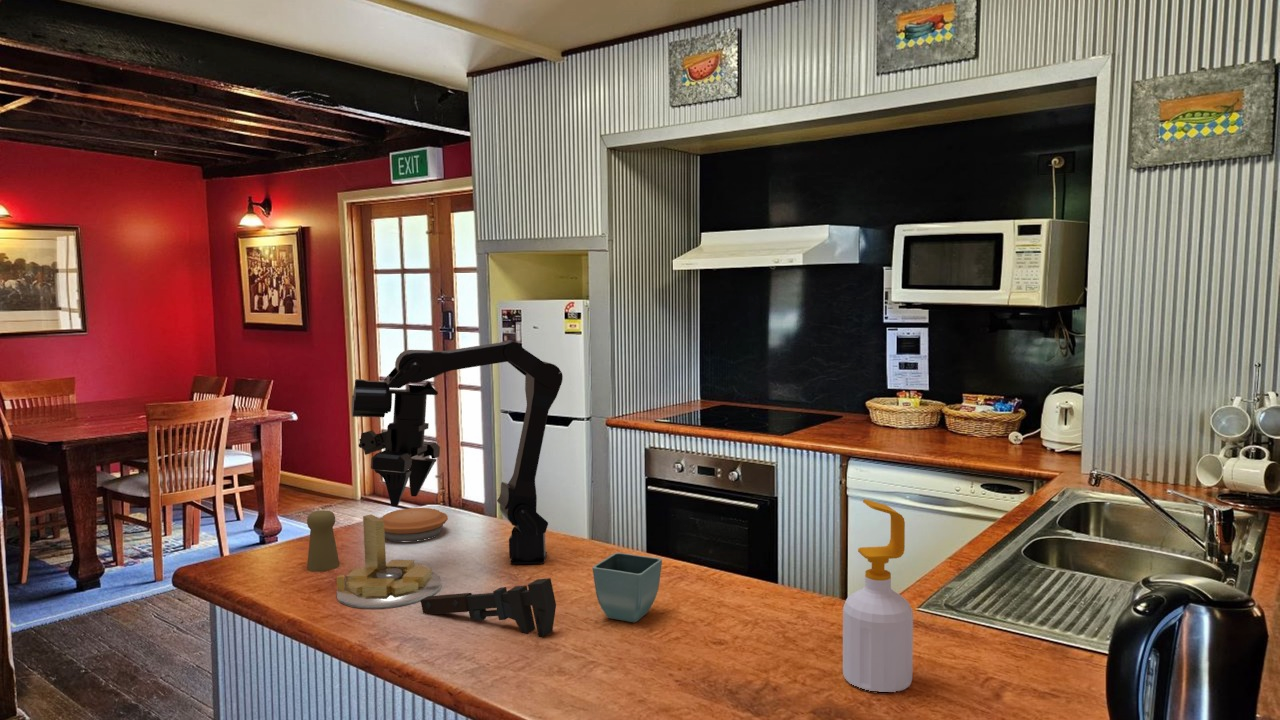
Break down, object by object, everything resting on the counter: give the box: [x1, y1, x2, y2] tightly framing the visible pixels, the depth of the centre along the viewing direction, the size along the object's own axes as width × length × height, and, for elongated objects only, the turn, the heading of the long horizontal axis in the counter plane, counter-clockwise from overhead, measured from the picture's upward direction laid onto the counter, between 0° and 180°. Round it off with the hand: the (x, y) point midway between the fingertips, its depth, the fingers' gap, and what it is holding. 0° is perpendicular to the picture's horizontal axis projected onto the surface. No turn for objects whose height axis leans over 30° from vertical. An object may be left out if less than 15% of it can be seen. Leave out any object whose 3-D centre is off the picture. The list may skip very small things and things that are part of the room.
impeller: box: [336, 568, 442, 610], centre depth 155 cm, size 18×18×3 cm
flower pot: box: [592, 552, 663, 623], centre depth 141 cm, size 9×9×9 cm
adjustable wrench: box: [420, 577, 557, 639], centre depth 139 cm, size 8×3×25 cm
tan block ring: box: [345, 514, 432, 596], centre depth 155 cm, size 16×14×10 cm
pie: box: [379, 507, 449, 542], centre depth 190 cm, size 15×16×5 cm
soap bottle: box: [842, 498, 914, 693], centre depth 116 cm, size 9×9×25 cm
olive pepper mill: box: [306, 509, 340, 573], centre depth 169 cm, size 6×6×11 cm
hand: (404, 501), depth 161 cm, fingers open, 9 cm apart
